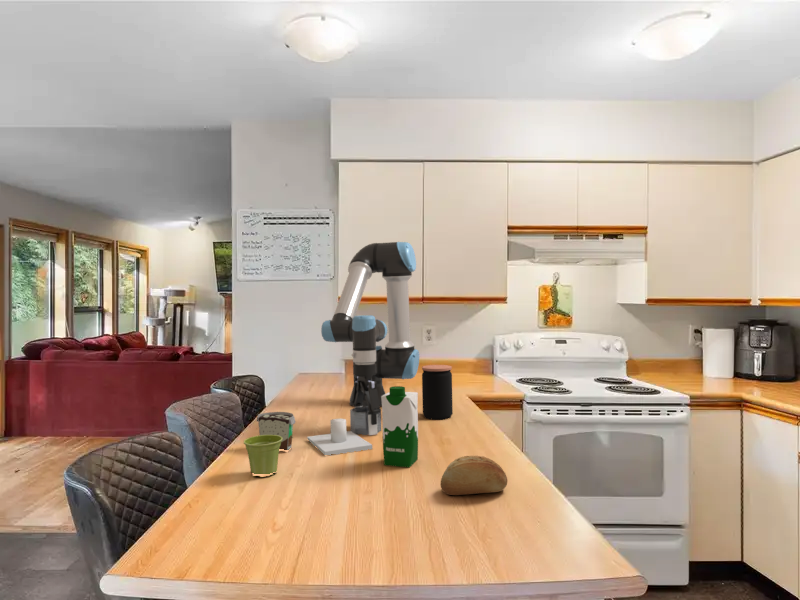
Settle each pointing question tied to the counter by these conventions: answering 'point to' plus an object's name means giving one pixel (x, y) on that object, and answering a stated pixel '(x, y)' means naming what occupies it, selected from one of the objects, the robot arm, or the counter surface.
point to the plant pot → (263, 453)
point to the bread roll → (473, 476)
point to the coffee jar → (437, 392)
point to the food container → (277, 426)
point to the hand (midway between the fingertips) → (365, 430)
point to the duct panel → (339, 440)
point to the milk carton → (400, 427)
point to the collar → (362, 420)
